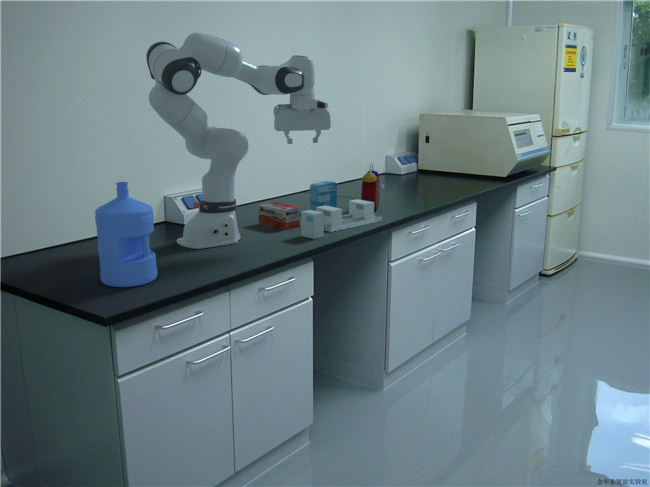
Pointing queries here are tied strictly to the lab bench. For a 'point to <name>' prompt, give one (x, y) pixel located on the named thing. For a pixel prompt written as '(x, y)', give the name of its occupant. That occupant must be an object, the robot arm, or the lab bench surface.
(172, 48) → the robot arm
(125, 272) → the water jug
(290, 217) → the medicine box
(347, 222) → the din rail
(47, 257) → the lab bench surface
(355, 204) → the block
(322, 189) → the blue printed box
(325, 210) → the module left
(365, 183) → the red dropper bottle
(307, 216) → the block
